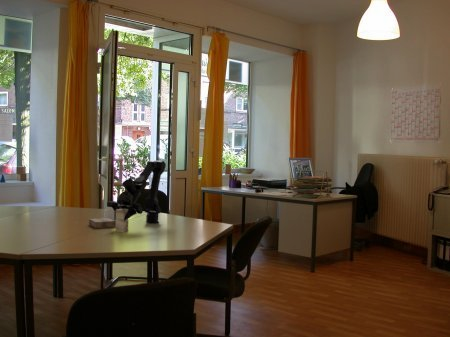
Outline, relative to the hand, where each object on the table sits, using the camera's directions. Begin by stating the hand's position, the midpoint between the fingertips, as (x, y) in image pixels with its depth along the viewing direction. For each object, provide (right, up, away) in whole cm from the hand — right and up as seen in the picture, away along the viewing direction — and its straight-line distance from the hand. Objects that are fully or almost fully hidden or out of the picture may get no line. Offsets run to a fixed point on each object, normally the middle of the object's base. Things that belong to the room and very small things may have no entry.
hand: (120, 219), depth 267 cm
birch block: (0, -7, +2) cm, 7 cm away
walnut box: (-14, -6, +15) cm, 21 cm away
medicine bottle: (-14, -5, +37) cm, 39 cm away
